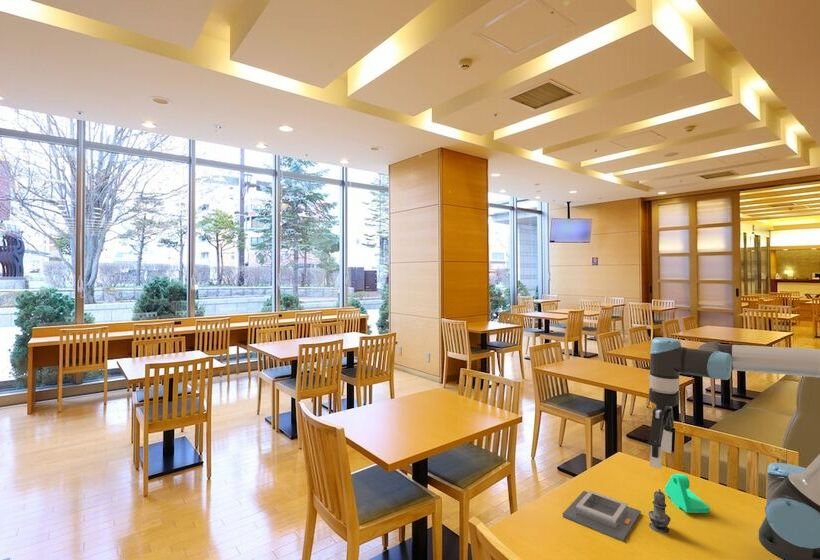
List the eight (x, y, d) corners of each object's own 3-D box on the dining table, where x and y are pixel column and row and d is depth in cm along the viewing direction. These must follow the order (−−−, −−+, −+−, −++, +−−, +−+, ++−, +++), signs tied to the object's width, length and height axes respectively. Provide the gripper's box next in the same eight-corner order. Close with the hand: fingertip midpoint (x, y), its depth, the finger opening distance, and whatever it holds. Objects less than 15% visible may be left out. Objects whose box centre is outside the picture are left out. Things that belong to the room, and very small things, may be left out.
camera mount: (710, 516, 132) (711, 484, 131) (686, 516, 132) (686, 484, 132) (687, 495, 144) (687, 466, 143) (664, 495, 144) (665, 466, 144)
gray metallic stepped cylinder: (670, 536, 122) (670, 496, 121) (647, 529, 125) (647, 490, 125) (670, 525, 127) (671, 487, 126) (648, 519, 130) (649, 482, 130)
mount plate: (640, 514, 133) (640, 503, 133) (623, 541, 120) (623, 529, 120) (583, 493, 145) (583, 483, 145) (562, 516, 132) (562, 505, 132)
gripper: (659, 378, 136) (657, 442, 137) (638, 396, 117) (635, 469, 118) (686, 383, 131) (683, 449, 132) (668, 403, 112) (665, 479, 113)
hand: (660, 459), depth 125 cm, fingers open, 13 cm apart
